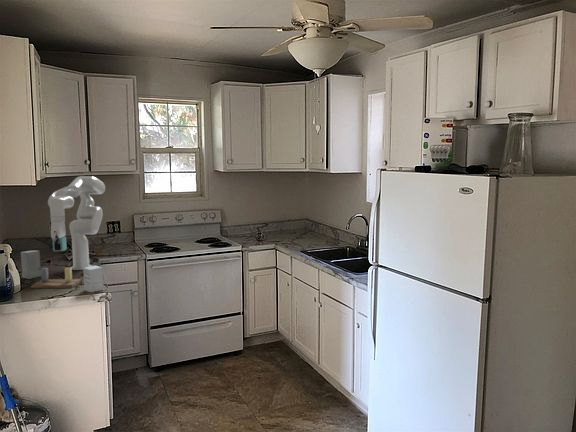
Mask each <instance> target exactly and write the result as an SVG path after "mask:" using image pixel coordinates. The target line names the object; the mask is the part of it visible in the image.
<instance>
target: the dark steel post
mask: <svg viewBox="0 0 576 432" xmlns="http://www.w3.org/2000/svg"><path fill="white" fill-rule="evenodd" d="M49 276H50V275H49V267H41V276H40V278H41V279H40V280H41V281H42V283H47V282H49V279H50V277H49Z"/></svg>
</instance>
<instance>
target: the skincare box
mask: <svg viewBox="0 0 576 432" xmlns="http://www.w3.org/2000/svg"><path fill="white" fill-rule="evenodd" d="M20 261H21V275H22V276H21V277H22V279H28V280H31V279H34V278H39V277H41V269H42V267H41V255H40V250H35V249H34V250H26V251H21V252H20Z"/></svg>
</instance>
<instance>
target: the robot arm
mask: <svg viewBox="0 0 576 432" xmlns="http://www.w3.org/2000/svg"><path fill="white" fill-rule="evenodd" d="M105 191H106V185H105V182H103V181H102V180H100V179H99V178H97V177H95V176H93V175H92V176H89V175H88V176H87V175H86V176H85V175H83V176H82V175H81V176H77V177H75V178H74V180H72V181H71V183H69V184H68V186H67V185H66V186H64V187H62V188H60V189H58V190H55V191H54V192H53V193H52V194H51V195H49V197H48V200H47V205H48V207H49V211H50V212H49V213H50V237H51V240H52V239H53V241H54V247H55V250H61V247H60V238H62V237H66V235H67V232H66V230H67V229H66V223H65V222H66V213H65V212H66V211H65V210H66V209H72V208H73V207H74V205H75V199H74V198H78V197H80V203H79V206H78V209H77V211H76V219H74V220H72V221H71V222H70V223H69V226H68V227H69V231H70V232H69V233H70V235H71V237H70V238H71V247H72V248H71V249H72V264H73V265H72V266H71V267H72V271H83V268H85V267H90V266H93V265H92V264H90V261H91V260H90V255H89V254H90V253H89V250H90V249H89V239H88V238H87V236H86V235H90V236H91V235H97V233H98V232H99V229H100V226H101V223H102V220H103V217H104V213H103V212H104V211H103V209H102V207H100V206H97V205H96V206H95V199H93V197H92V196H91V195H103V194H104V193H105ZM56 237H58V238H56ZM56 239H58V240H56Z"/></svg>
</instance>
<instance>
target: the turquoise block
mask: <svg viewBox="0 0 576 432" xmlns="http://www.w3.org/2000/svg"><path fill="white" fill-rule="evenodd" d="M56 238H58V237H56ZM56 240H58V239H56ZM51 241H52V251H53V252H64V251H67V249H68V246H67V236H65V237H62V238H60V247H61V250H55V247H54V241H53V239H52V238H51Z"/></svg>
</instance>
